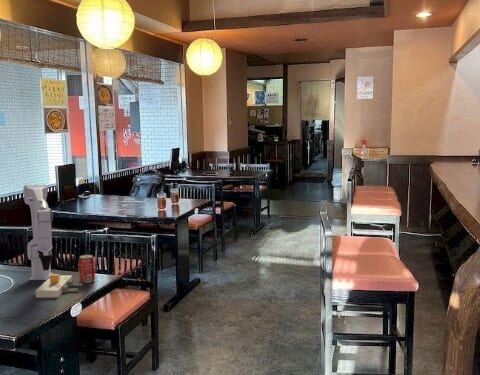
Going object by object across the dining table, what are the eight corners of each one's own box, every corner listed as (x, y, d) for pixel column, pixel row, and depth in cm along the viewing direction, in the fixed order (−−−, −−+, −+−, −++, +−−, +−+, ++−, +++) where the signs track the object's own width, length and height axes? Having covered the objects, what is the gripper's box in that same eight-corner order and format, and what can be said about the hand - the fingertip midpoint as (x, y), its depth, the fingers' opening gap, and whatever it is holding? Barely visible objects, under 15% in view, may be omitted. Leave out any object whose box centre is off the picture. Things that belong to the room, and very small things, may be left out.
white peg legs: (69, 285, 205) (69, 280, 204) (82, 285, 205) (82, 280, 205) (62, 292, 196) (62, 287, 195) (77, 292, 196) (76, 287, 196)
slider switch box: (52, 281, 209) (52, 275, 209) (72, 281, 210) (72, 275, 210) (35, 297, 190) (35, 290, 189) (58, 297, 190) (57, 290, 190)
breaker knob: (52, 281, 200) (51, 273, 200) (59, 281, 201) (59, 273, 200) (50, 282, 198) (49, 275, 198) (57, 282, 198) (57, 275, 198)
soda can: (87, 278, 215) (86, 253, 214) (98, 280, 212) (97, 255, 210) (75, 282, 209) (74, 256, 208) (86, 285, 206) (85, 259, 204)
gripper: (33, 234, 202) (34, 264, 204) (35, 241, 189) (36, 273, 191) (50, 232, 205) (51, 262, 207) (53, 240, 192) (54, 271, 194)
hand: (45, 267), depth 199 cm, fingers open, 7 cm apart
